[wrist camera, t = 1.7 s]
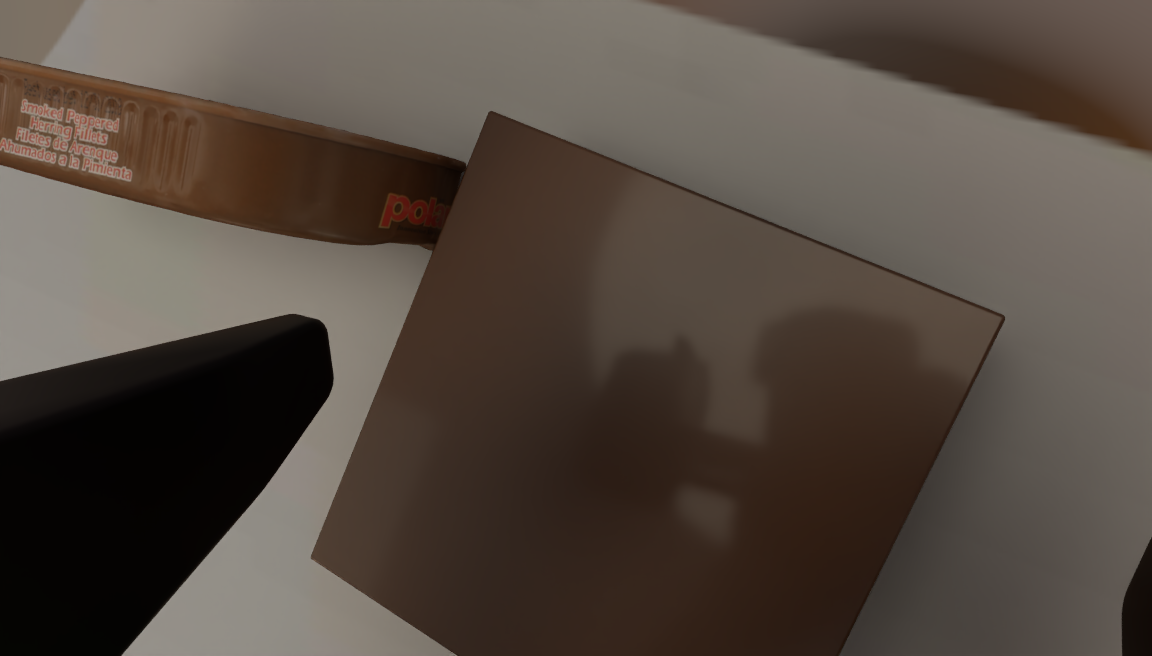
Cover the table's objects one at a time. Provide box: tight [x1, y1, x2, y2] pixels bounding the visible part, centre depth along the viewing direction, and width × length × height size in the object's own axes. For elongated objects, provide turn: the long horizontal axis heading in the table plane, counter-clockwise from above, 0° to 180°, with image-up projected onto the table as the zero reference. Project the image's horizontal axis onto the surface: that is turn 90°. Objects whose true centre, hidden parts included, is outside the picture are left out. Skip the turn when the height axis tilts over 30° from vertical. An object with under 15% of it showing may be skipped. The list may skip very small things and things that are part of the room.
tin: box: [0, 57, 466, 251], centre depth 24 cm, size 15×3×8 cm, turn 75°
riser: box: [311, 111, 1005, 656], centre depth 21 cm, size 12×12×4 cm
